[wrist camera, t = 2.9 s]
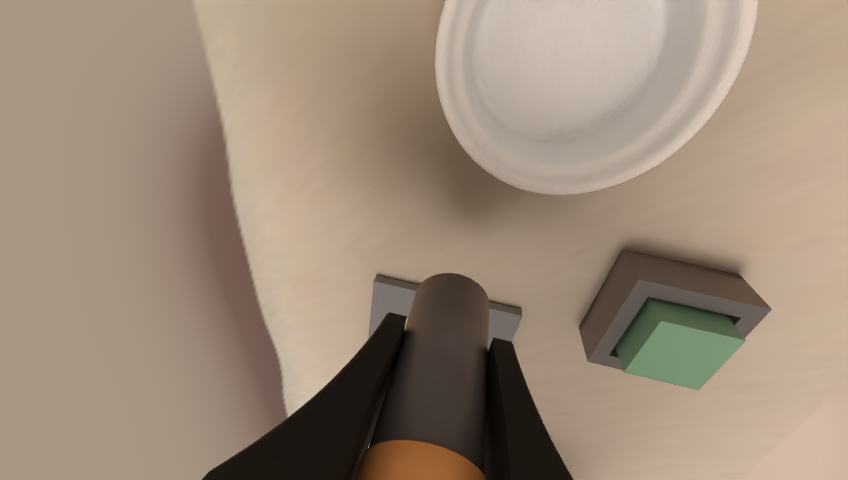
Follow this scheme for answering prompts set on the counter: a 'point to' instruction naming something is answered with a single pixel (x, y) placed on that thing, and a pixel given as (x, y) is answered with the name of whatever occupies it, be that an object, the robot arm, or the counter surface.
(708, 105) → the ramekin
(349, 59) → the counter surface
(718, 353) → the button
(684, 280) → the button housing
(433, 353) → the cylinder
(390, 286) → the grey square plate
